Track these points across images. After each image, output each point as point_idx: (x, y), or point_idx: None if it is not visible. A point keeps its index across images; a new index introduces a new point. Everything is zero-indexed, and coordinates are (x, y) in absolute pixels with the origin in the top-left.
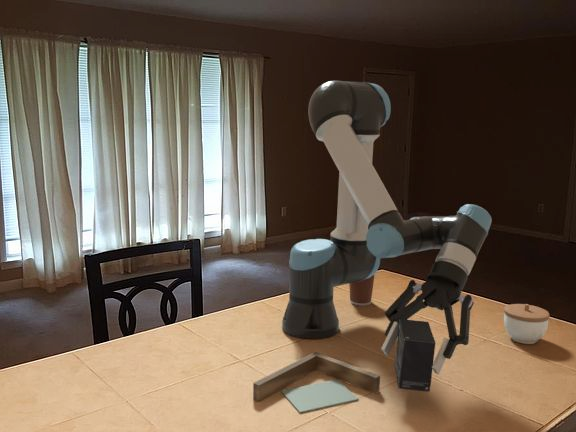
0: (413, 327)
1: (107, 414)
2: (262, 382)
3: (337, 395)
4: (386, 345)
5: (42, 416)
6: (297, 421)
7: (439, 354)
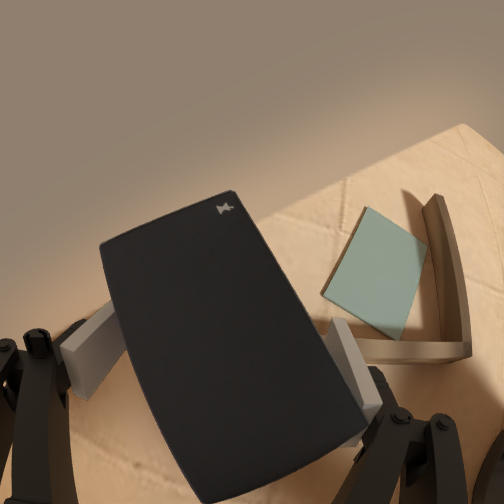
0: (242, 350)
1: (458, 145)
2: (439, 202)
3: (360, 283)
4: (336, 328)
5: (469, 135)
6: (354, 190)
7: (107, 307)
